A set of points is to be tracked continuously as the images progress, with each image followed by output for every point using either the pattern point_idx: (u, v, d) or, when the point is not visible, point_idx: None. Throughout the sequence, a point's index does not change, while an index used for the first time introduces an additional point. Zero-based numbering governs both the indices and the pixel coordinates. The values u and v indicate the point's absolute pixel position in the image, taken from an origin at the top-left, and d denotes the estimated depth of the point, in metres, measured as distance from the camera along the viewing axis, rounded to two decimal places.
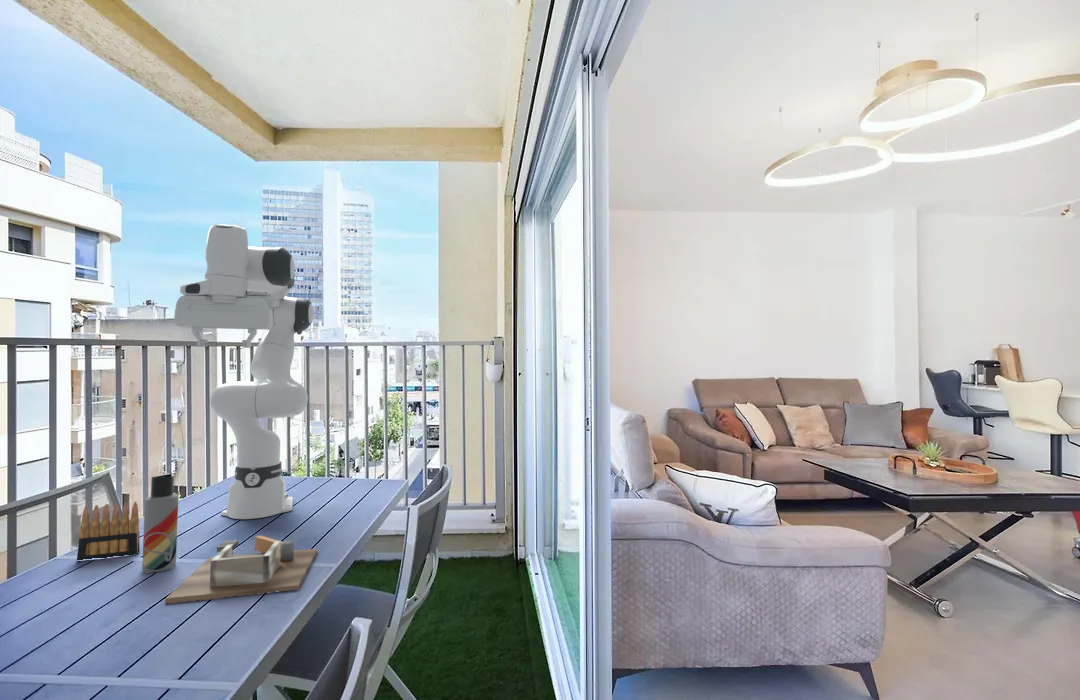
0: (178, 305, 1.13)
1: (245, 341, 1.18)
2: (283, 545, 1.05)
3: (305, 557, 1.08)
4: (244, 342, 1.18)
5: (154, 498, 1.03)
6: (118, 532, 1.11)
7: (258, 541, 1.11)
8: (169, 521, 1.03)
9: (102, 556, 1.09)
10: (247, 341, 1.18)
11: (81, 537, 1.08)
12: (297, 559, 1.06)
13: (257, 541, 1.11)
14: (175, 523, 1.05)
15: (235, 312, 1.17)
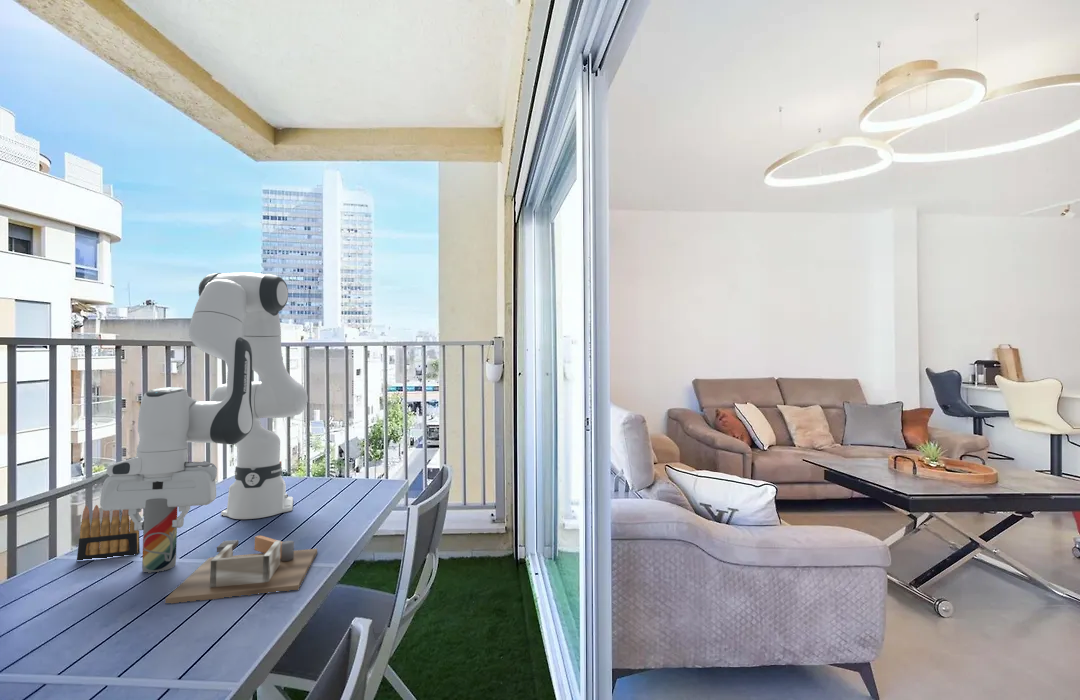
0: (104, 488, 1.00)
1: (176, 521, 1.04)
2: (283, 545, 1.05)
3: (305, 557, 1.08)
4: (174, 522, 1.04)
5: None
6: (118, 532, 1.11)
7: (258, 541, 1.11)
8: (169, 521, 1.03)
9: (102, 556, 1.09)
10: (178, 521, 1.04)
11: (81, 537, 1.08)
12: (297, 559, 1.06)
13: (257, 541, 1.11)
14: None
15: (171, 490, 1.03)
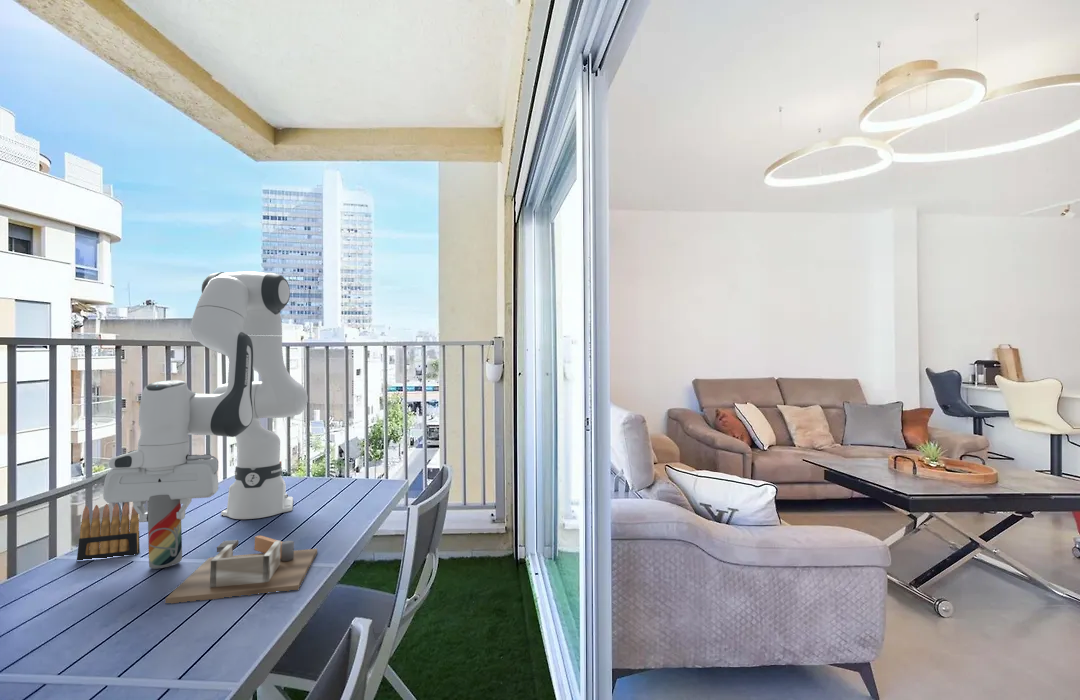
0: (107, 481, 1.01)
1: (177, 513, 1.05)
2: (283, 545, 1.05)
3: (305, 557, 1.08)
4: (176, 514, 1.05)
5: (156, 495, 1.03)
6: (118, 532, 1.11)
7: (258, 541, 1.11)
8: (172, 517, 1.04)
9: (102, 556, 1.09)
10: (179, 513, 1.05)
11: (81, 537, 1.08)
12: (297, 559, 1.06)
13: (257, 541, 1.11)
14: None
15: (173, 483, 1.04)
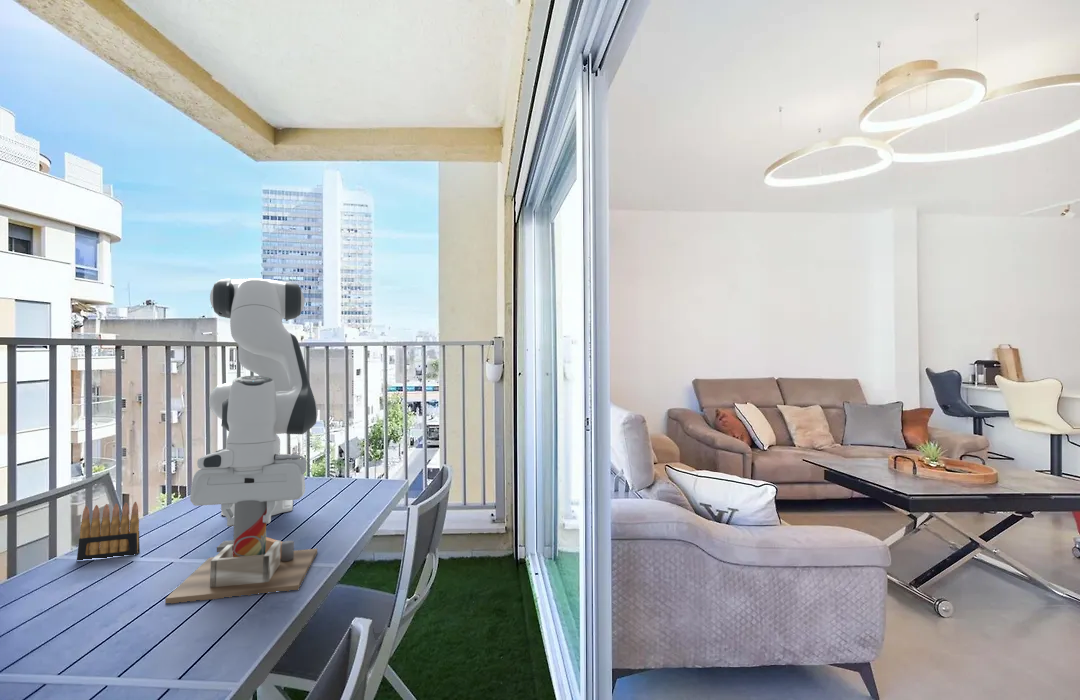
0: (194, 482, 0.95)
1: (264, 516, 0.99)
2: (283, 545, 1.05)
3: (305, 557, 1.08)
4: (263, 518, 0.99)
5: None
6: (118, 532, 1.11)
7: None
8: (260, 524, 0.98)
9: (102, 556, 1.09)
10: (267, 516, 0.99)
11: (81, 537, 1.08)
12: (297, 559, 1.06)
13: None
14: (265, 526, 1.00)
15: (262, 484, 0.98)
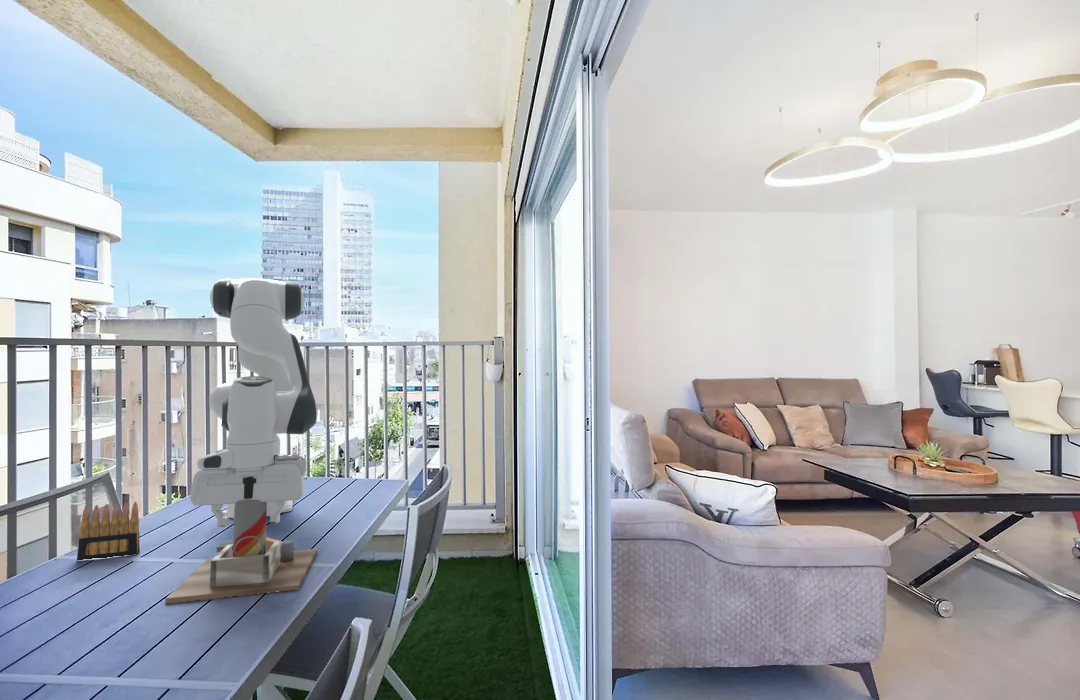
0: (194, 482, 0.95)
1: (273, 516, 1.00)
2: (283, 545, 1.05)
3: (305, 557, 1.08)
4: (272, 517, 1.00)
5: (245, 500, 0.97)
6: (118, 532, 1.11)
7: None
8: (260, 524, 0.98)
9: (102, 556, 1.09)
10: (276, 516, 1.00)
11: (81, 537, 1.08)
12: (297, 559, 1.06)
13: None
14: (265, 526, 1.00)
15: (262, 484, 0.99)
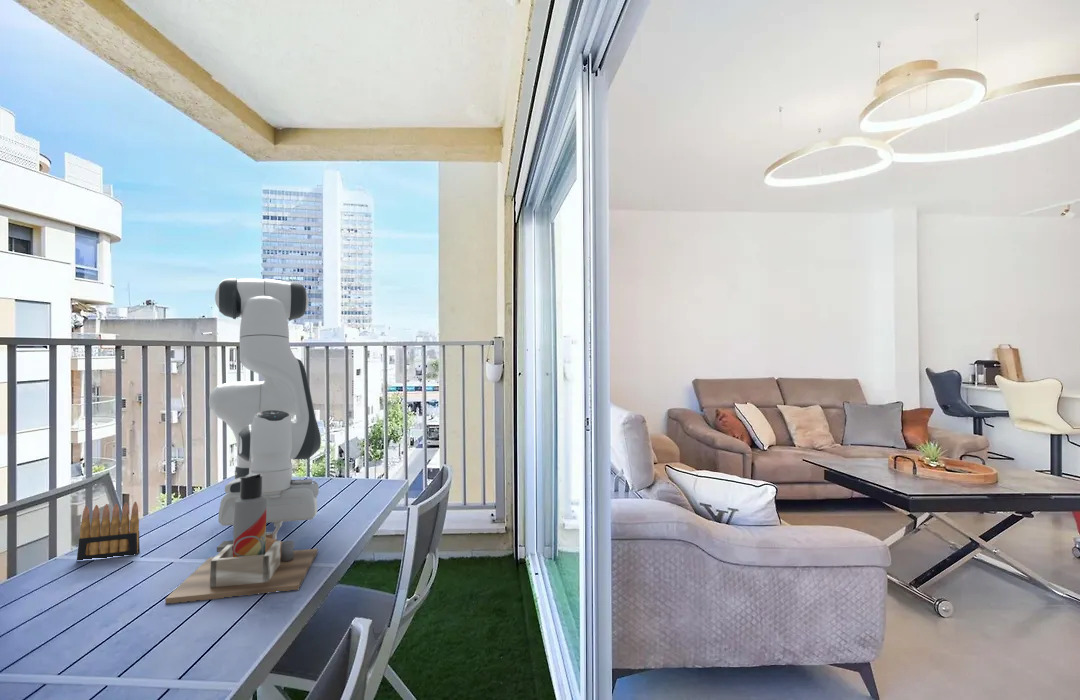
0: (222, 505, 1.09)
1: (271, 535, 1.13)
2: (283, 545, 1.05)
3: (305, 557, 1.08)
4: (270, 536, 1.12)
5: (245, 500, 0.97)
6: (118, 532, 1.11)
7: None
8: (260, 524, 0.98)
9: (102, 556, 1.09)
10: (273, 535, 1.13)
11: (81, 537, 1.08)
12: (297, 559, 1.06)
13: None
14: (265, 526, 1.00)
15: (280, 506, 1.13)
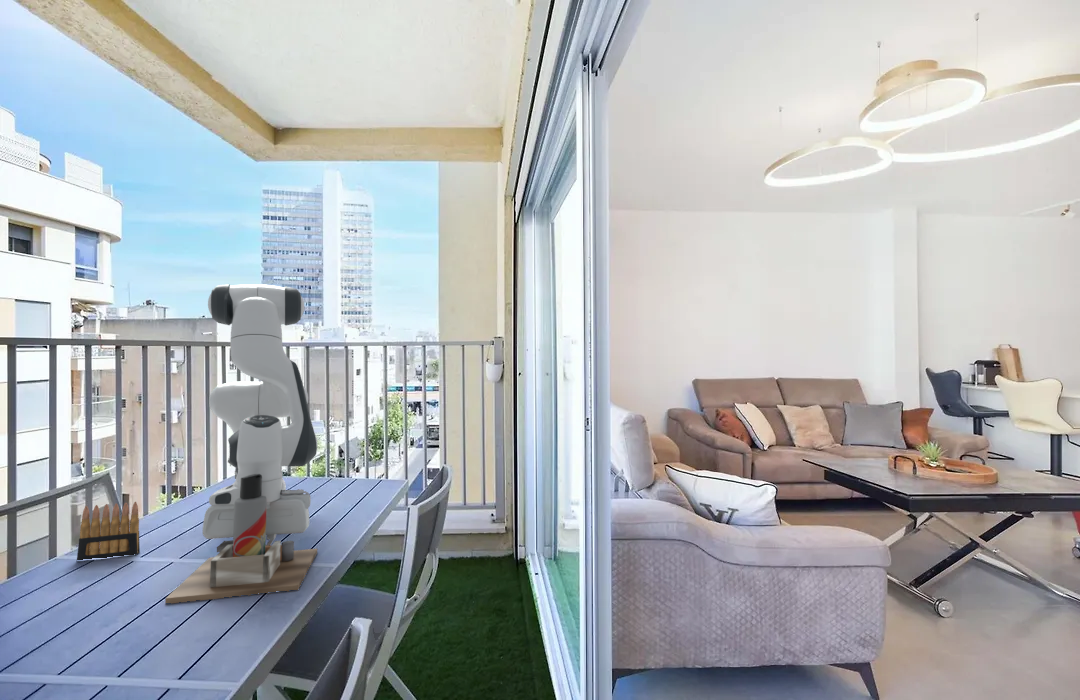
0: (206, 517, 1.02)
1: None
2: (287, 545, 1.05)
3: (305, 557, 1.08)
4: None
5: (245, 500, 0.97)
6: (118, 532, 1.11)
7: None
8: (260, 524, 0.98)
9: (102, 556, 1.09)
10: None
11: (81, 537, 1.08)
12: (297, 559, 1.06)
13: None
14: (265, 526, 1.00)
15: (269, 518, 1.05)
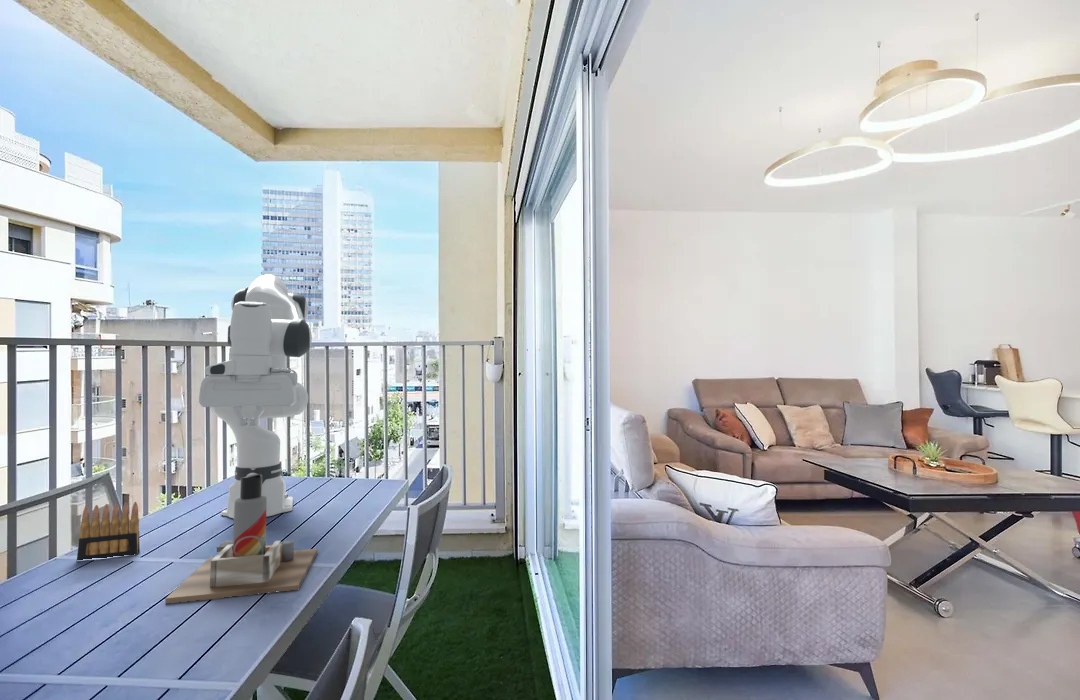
0: (202, 386, 1.13)
1: (253, 419, 1.16)
2: (287, 545, 1.05)
3: (305, 557, 1.08)
4: (252, 420, 1.16)
5: (245, 500, 0.98)
6: (118, 532, 1.11)
7: None
8: (260, 524, 0.98)
9: (102, 556, 1.09)
10: (255, 419, 1.16)
11: (81, 537, 1.08)
12: (297, 559, 1.06)
13: None
14: (265, 526, 1.00)
15: (260, 391, 1.16)
